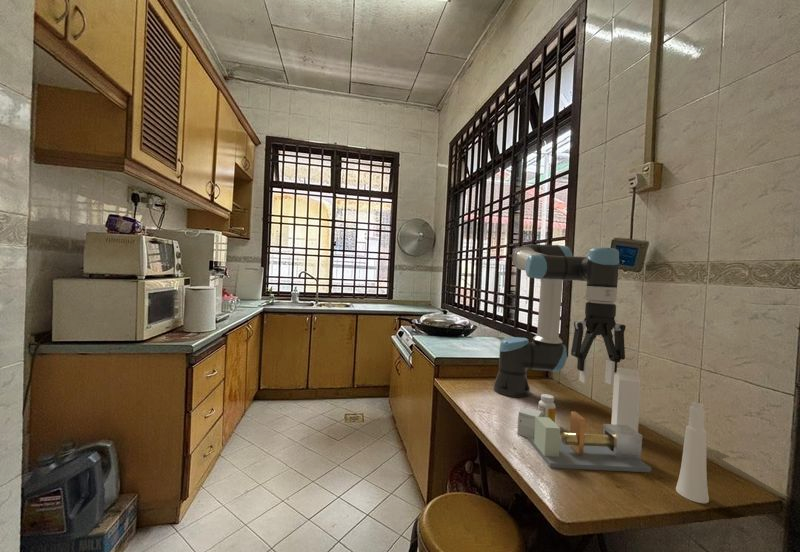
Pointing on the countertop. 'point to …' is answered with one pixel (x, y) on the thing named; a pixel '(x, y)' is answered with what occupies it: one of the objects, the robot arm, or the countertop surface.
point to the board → (590, 459)
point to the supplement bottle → (547, 406)
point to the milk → (626, 398)
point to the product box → (527, 421)
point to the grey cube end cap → (624, 442)
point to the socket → (547, 436)
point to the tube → (584, 436)
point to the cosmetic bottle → (694, 458)
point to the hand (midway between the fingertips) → (596, 382)
